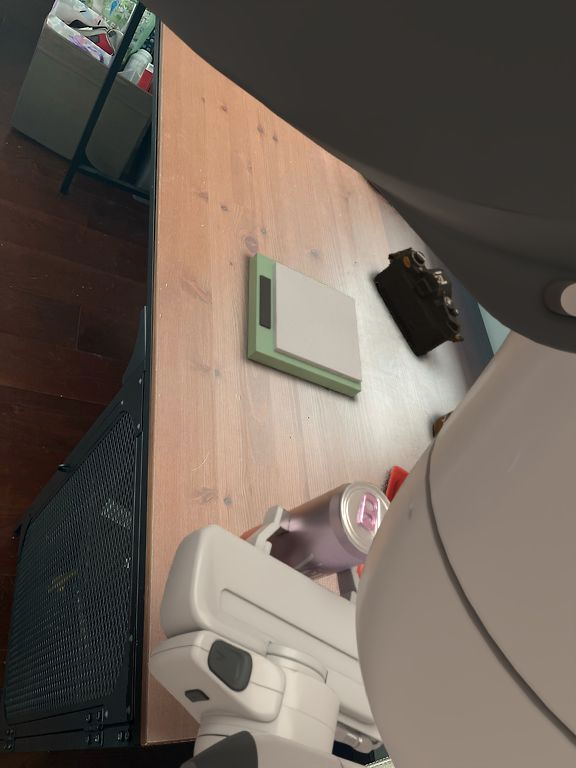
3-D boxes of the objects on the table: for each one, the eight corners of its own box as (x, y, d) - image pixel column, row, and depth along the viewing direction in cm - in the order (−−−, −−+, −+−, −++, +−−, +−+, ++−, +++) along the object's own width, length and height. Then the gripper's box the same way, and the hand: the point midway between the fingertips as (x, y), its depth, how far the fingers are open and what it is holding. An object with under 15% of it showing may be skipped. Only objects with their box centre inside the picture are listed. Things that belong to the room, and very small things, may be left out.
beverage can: (289, 547, 59) (403, 500, 49) (275, 608, 55) (395, 571, 45) (239, 519, 57) (346, 464, 46) (220, 580, 53) (333, 534, 43)
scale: (247, 358, 76) (259, 347, 74) (249, 260, 84) (260, 248, 82) (352, 397, 84) (365, 388, 83) (344, 304, 93) (356, 295, 91)
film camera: (449, 334, 107) (496, 305, 101) (427, 368, 98) (476, 339, 92) (384, 255, 106) (427, 220, 99) (355, 282, 97) (400, 246, 90)
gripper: (414, 762, 43) (430, 578, 52) (170, 644, 36) (236, 456, 45) (354, 762, 48) (378, 592, 57) (125, 657, 41) (194, 483, 50)
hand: (313, 531), depth 51 cm, fingers closed on beverage can, 6 cm apart
